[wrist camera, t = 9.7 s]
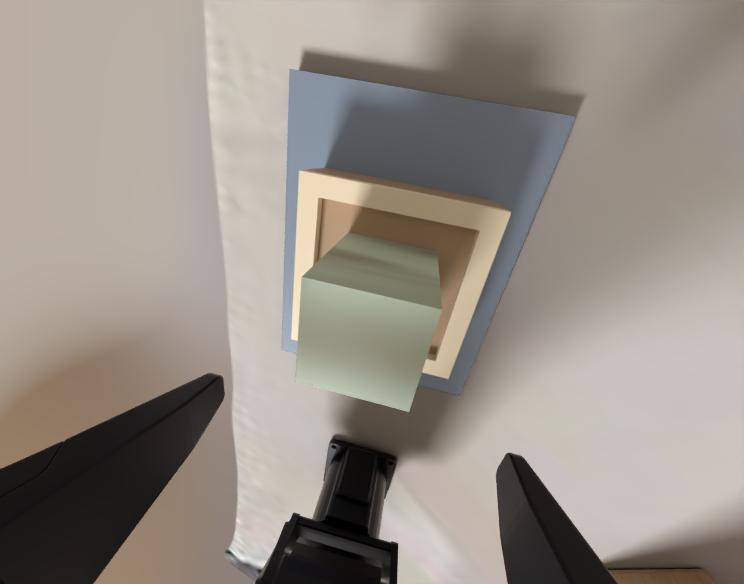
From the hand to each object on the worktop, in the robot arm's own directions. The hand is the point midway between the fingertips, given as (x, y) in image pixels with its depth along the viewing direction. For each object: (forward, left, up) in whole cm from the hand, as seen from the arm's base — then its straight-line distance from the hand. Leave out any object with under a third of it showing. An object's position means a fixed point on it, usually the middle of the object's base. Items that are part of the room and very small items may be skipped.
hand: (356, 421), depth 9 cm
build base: (+1, +1, -12) cm, 12 cm away
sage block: (+1, +1, -8) cm, 8 cm away
